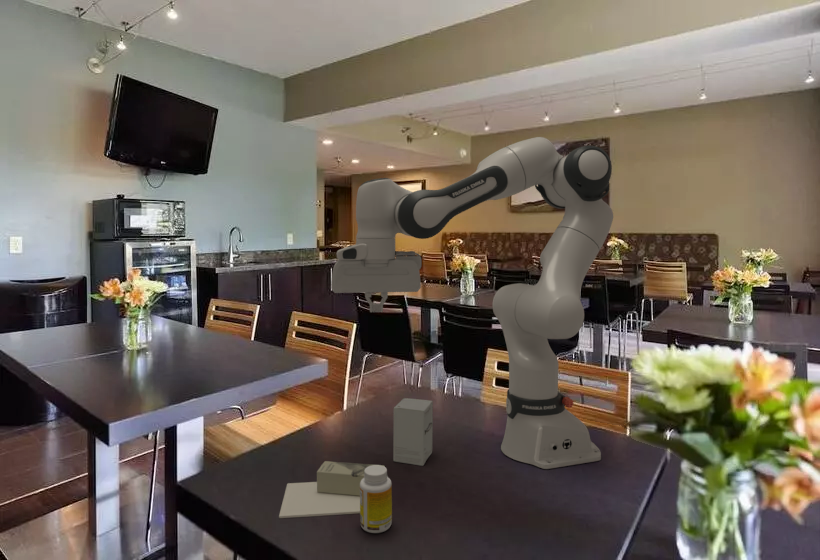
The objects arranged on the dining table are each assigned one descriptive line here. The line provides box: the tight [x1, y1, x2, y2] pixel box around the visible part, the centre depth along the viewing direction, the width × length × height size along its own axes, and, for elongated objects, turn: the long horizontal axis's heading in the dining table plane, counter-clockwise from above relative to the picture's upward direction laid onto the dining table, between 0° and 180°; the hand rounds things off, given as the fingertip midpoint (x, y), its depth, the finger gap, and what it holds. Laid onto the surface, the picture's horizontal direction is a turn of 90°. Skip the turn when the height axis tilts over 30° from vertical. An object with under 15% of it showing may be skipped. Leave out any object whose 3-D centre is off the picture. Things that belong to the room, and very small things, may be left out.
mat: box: [278, 481, 360, 519], centre depth 99 cm, size 18×12×1 cm, turn 96°
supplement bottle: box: [359, 464, 393, 534], centre depth 89 cm, size 6×6×10 cm
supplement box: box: [392, 397, 434, 467], centre depth 116 cm, size 7×7×13 cm
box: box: [316, 460, 385, 496], centre depth 101 cm, size 5×4×13 cm
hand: (376, 311), depth 117 cm, fingers closed
